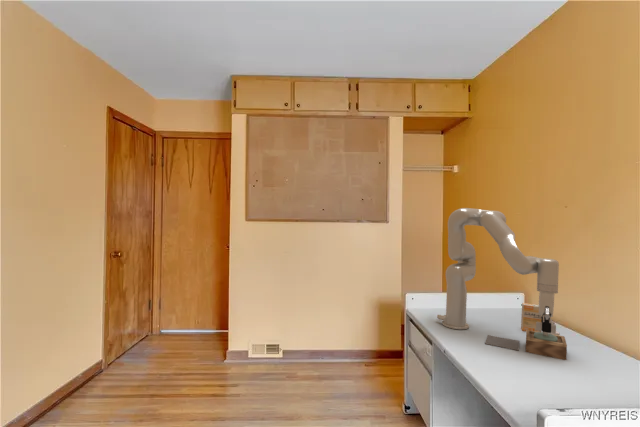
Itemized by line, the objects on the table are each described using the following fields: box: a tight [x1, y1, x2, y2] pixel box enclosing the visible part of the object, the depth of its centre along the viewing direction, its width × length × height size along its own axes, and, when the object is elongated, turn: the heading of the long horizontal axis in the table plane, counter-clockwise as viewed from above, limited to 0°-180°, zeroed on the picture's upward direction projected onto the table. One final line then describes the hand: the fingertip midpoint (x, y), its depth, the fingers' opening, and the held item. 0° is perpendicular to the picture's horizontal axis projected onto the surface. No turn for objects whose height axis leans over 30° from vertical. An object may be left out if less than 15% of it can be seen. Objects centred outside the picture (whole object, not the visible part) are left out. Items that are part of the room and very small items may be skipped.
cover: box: [534, 322, 557, 342], centre depth 150 cm, size 8×8×7 cm
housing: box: [525, 330, 568, 361], centre depth 150 cm, size 14×12×6 cm
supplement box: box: [520, 302, 542, 332], centre depth 177 cm, size 8×5×13 cm, turn 68°
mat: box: [484, 334, 520, 352], centre depth 158 cm, size 13×13×1 cm
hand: (545, 329), depth 150 cm, fingers open, 9 cm apart
